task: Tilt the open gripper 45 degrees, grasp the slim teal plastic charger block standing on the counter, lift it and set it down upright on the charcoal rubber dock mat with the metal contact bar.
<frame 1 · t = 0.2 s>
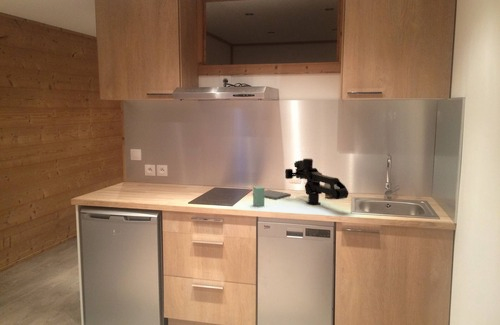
hand: (291, 171, 254), 17 cm above the countertop, tool horizontal, fingers open, 9 cm apart
food container: (333, 198, 251), on the countertop
dock mat: (271, 195, 256), on the countertop
charger block: (258, 205, 228), on the countertop
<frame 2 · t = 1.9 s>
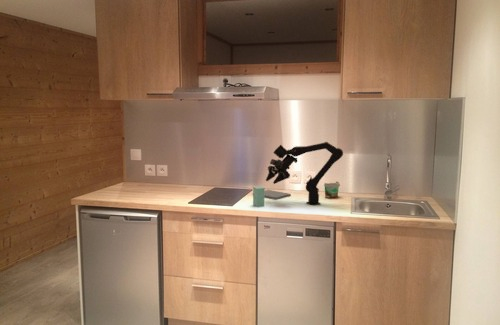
hand: (269, 182, 230), 14 cm above the countertop, tool tilted 45°, fingers open, 9 cm apart
nothing on the countertop moved.
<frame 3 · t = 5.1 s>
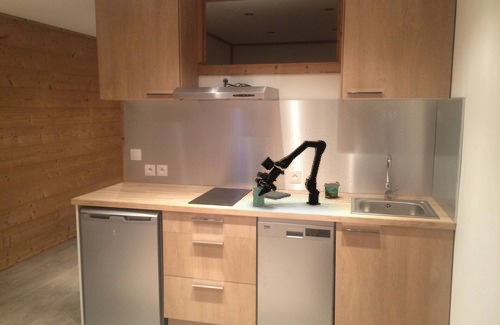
hand: (256, 194, 227), 7 cm above the countertop, tool tilted 45°, fingers closed on charger block, 5 cm apart
charger block: (258, 205, 228), on the countertop, touching gripper
everything else where it was.
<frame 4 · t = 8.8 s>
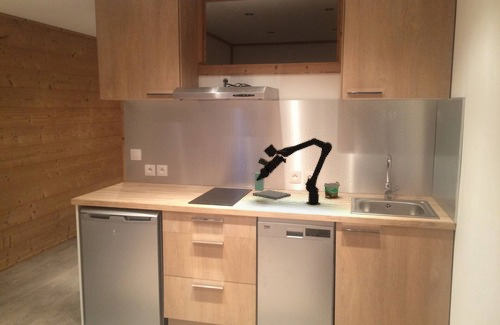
hand: (257, 179, 240), 13 cm above the countertop, tool tilted 45°, fingers closed on charger block, 5 cm apart
charger block: (259, 190, 241), point 7 cm above the countertop, touching gripper
everything else where it was.
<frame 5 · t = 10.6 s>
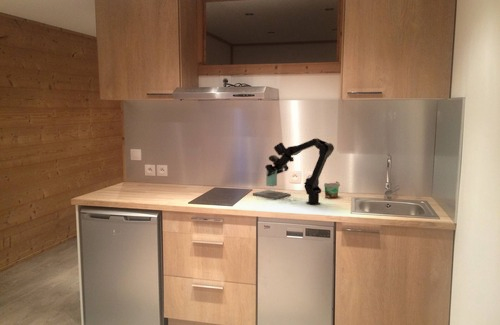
hand: (270, 175, 255), 14 cm above the countertop, tool tilted 45°, fingers closed on charger block, 5 cm apart
charger block: (271, 185, 255), point 7 cm above the countertop, touching gripper
everything else where it was.
when the fingers open (9 cm above the countertop, at t = 12.3 s): charger block stays where it is, resting on dock mat.
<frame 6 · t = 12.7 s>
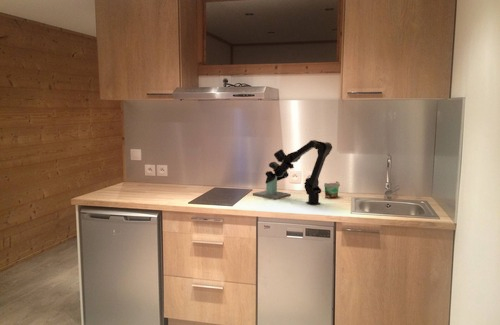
hand: (270, 182, 256), 9 cm above the countertop, tool tilted 45°, fingers open, 9 cm apart
charger block: (271, 193, 256), point 1 cm above the countertop, touching dock mat
everything else where it was.
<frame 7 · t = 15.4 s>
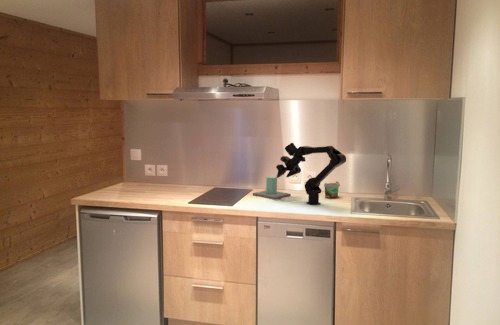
hand: (281, 177, 250), 13 cm above the countertop, tool tilted 40°, fingers open, 9 cm apart
nothing on the countertop moved.
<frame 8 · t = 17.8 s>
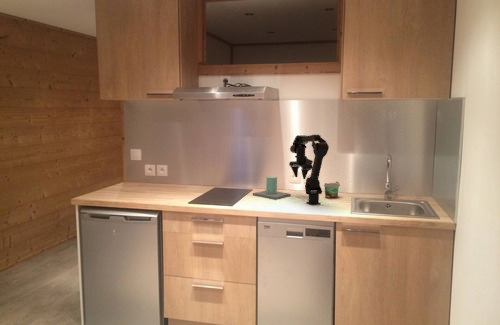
hand: (300, 178, 249), 13 cm above the countertop, tool pointing down, fingers open, 9 cm apart
nothing on the countertop moved.
at the end: charger block inside the target area on the dock mat (0.1 cm from its centre), point 1.5 cm above the dock mat's base; charger block tilted 0°; the gripper is holding nothing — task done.
